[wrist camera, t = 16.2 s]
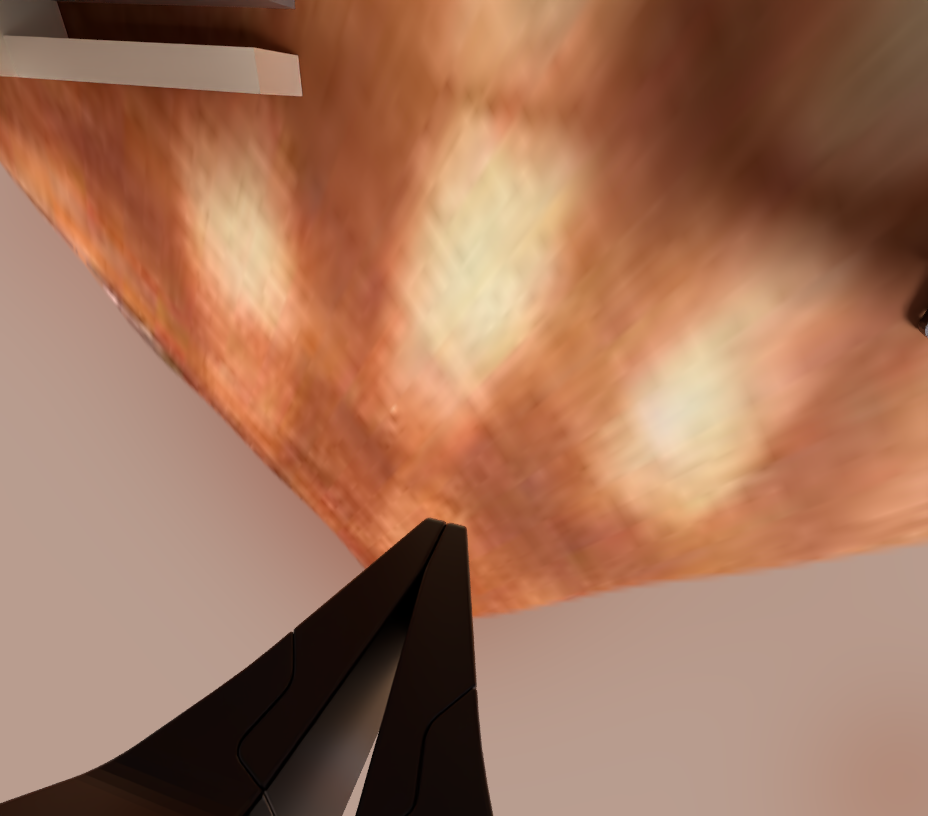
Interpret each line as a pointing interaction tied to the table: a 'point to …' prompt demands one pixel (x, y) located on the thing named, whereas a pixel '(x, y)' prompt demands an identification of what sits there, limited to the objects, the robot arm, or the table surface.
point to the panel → (203, 3)
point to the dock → (134, 57)
